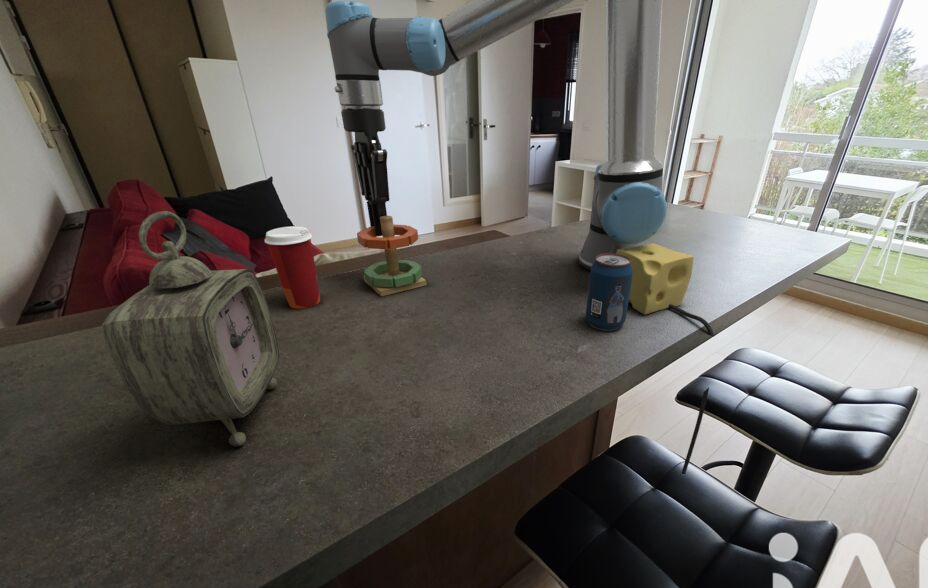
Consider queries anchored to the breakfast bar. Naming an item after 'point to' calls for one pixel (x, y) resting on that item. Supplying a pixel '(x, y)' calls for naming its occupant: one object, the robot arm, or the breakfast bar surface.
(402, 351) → the breakfast bar surface
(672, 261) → the cheese
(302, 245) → the paper cup
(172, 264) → the tabletop clock
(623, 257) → the soda can
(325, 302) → the breakfast bar surface
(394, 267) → the post stand
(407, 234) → the terracotta ring
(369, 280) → the green ring
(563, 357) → the breakfast bar surface
